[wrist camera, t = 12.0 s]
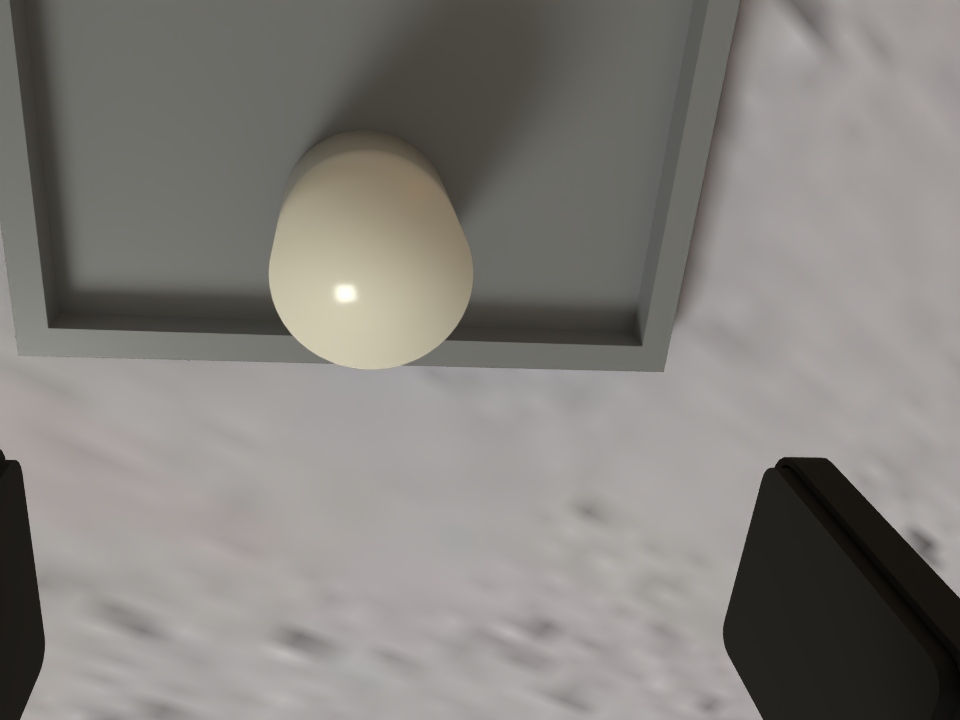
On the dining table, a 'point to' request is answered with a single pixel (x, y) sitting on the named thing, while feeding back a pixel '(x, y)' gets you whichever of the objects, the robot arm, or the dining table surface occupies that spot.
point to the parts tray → (340, 108)
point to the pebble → (368, 253)
